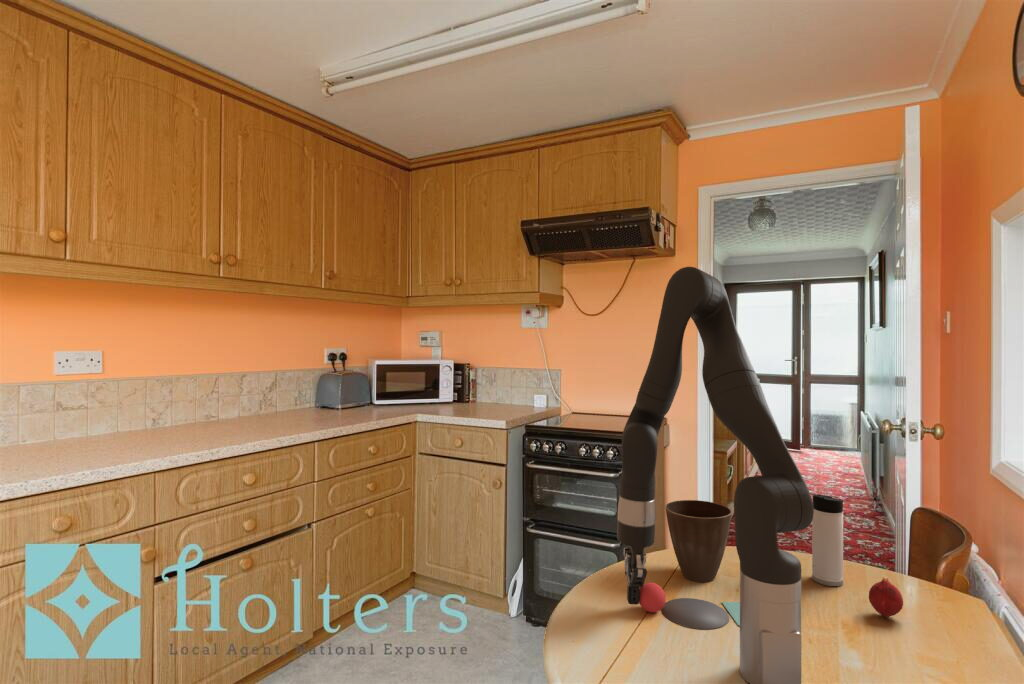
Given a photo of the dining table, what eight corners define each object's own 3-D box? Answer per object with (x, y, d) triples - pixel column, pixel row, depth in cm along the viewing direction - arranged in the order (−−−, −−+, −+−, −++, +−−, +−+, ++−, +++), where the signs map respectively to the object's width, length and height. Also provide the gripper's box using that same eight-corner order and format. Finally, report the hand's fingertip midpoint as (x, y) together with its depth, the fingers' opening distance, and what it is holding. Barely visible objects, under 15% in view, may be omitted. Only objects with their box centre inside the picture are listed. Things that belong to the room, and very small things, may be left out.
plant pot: (663, 583, 130) (663, 514, 130) (667, 560, 144) (667, 497, 144) (733, 593, 125) (733, 520, 125) (730, 568, 139) (730, 502, 139)
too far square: (790, 627, 110) (790, 626, 110) (738, 626, 111) (738, 625, 111) (769, 603, 120) (769, 602, 120) (721, 602, 121) (721, 601, 121)
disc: (738, 630, 109) (738, 629, 109) (670, 628, 110) (670, 627, 110) (717, 599, 122) (717, 598, 122) (656, 598, 123) (656, 597, 123)
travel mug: (805, 578, 133) (805, 493, 133) (824, 574, 136) (824, 490, 136) (829, 589, 128) (830, 500, 127) (849, 584, 130) (849, 496, 130)
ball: (648, 621, 114) (673, 607, 114) (633, 595, 115) (657, 581, 115) (645, 612, 119) (668, 599, 119) (631, 587, 120) (654, 574, 120)
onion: (908, 625, 111) (908, 584, 111) (876, 622, 112) (876, 582, 112) (895, 611, 117) (895, 573, 117) (864, 609, 118) (864, 570, 118)
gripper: (662, 530, 110) (658, 619, 110) (647, 509, 123) (644, 589, 123) (623, 529, 110) (619, 617, 110) (613, 508, 123) (609, 587, 124)
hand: (632, 602), depth 117 cm, fingers closed
